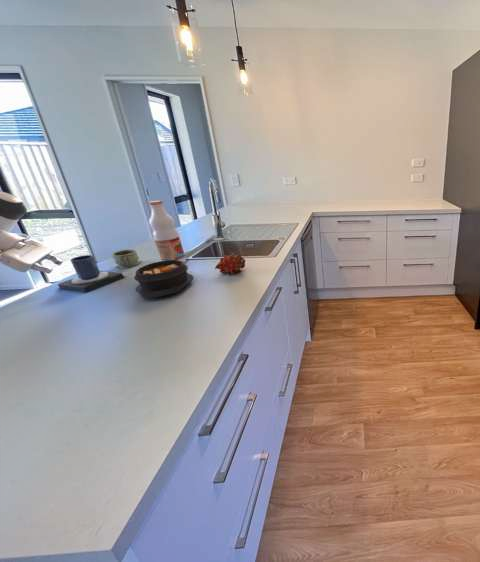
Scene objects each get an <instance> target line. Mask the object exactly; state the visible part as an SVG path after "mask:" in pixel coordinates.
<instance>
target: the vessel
mask: <svg viewBox="0 0 480 562" xmlns="http://www.w3.org/2000/svg"><path fill="white" fill-rule="evenodd" d="M111 256H112V258H113V261H114V263H115V264H116V265H118V267H117V268H121V269H122V268H123V269H125V268H131V267H134V266H137V265H138V264H140V262H139V260H140V257H139V256H138V253H137V250H136V249H133V248H132V249H131V248H128V249H121V250H118V251H117V250H116V251H114V252H113V253H112V254H111Z"/></svg>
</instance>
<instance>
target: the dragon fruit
mask: <svg viewBox="0 0 480 562" xmlns="http://www.w3.org/2000/svg"><path fill="white" fill-rule="evenodd" d="M245 267H246V259H245V258H244V257H243V256H241V255H238V254H235V253H231V254H230V255H227V254H226V255H224V256H223V257H221V258H220V260H219V262H218V263H217V264H216V265H215V267H214V270H219V273H220V274H221V273H222V274H230V273H231V275H234V274H235V273H239V272H241V269H244V268H245Z"/></svg>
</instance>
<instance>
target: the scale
mask: <svg viewBox="0 0 480 562" xmlns="http://www.w3.org/2000/svg"><path fill="white" fill-rule="evenodd" d="M99 271H100V274H99V276H98V277H95V278H92V279H87V280H82V279H79V278H78V276H76V277H74V278H70V279H68V280H65V281H63V282H59V283H57V285H58V288H59V289H60V290H66V291H73V292H80V293H88V292H91V291H93V290H96V289H99V288H101V287H103V286H106V285H109V284H112V283H114V282H116V281H120V280H121V279H124V275H123V273H122V272H116V271H115V272H114V271H106V270H99Z"/></svg>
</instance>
